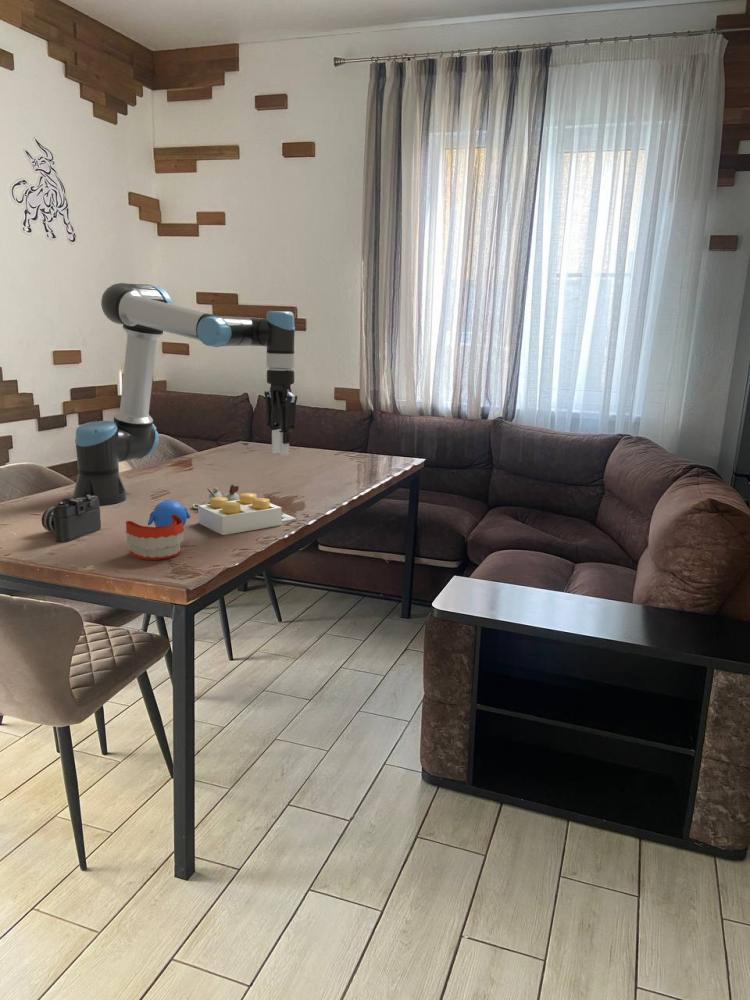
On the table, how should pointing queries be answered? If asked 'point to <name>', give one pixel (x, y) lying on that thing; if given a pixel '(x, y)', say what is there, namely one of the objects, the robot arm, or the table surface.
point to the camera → (73, 518)
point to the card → (287, 518)
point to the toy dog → (230, 495)
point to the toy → (155, 540)
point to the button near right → (260, 503)
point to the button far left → (217, 502)
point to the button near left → (231, 508)
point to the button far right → (246, 498)
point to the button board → (239, 518)
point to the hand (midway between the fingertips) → (280, 453)
